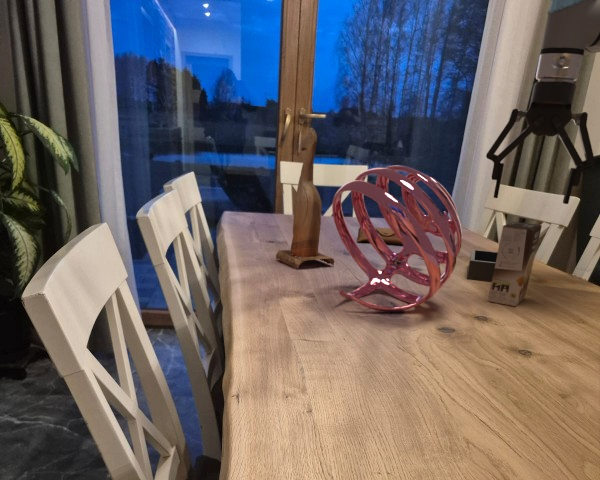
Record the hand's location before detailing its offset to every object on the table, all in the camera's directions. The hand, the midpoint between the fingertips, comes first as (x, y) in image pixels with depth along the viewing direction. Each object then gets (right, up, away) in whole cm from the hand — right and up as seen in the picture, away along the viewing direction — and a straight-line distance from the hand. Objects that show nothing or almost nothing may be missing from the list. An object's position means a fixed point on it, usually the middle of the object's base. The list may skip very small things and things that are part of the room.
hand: (529, 200), depth 117 cm
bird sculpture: (-46, -6, +32) cm, 56 cm away
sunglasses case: (-20, +9, +63) cm, 67 cm away
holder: (+2, -9, +31) cm, 32 cm away
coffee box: (-1, -19, +10) cm, 21 cm away
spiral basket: (-28, -21, +3) cm, 35 cm away
